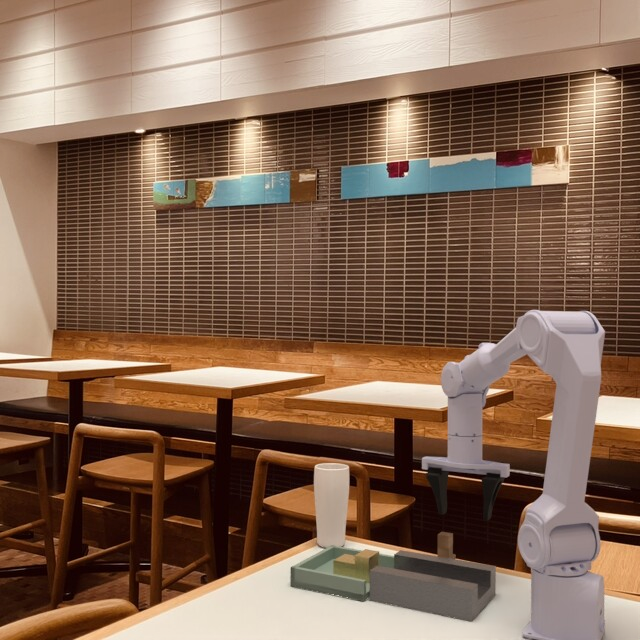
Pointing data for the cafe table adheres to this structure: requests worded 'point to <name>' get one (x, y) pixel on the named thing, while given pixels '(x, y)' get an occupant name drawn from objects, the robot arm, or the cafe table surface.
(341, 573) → the tan wooden square block
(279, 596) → the cafe table surface
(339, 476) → the drinking glass
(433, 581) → the grey open tray
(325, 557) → the tray
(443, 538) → the stepped wooden block
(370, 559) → the tan square block
